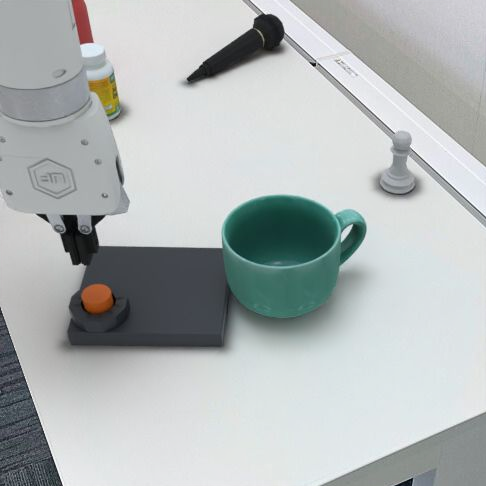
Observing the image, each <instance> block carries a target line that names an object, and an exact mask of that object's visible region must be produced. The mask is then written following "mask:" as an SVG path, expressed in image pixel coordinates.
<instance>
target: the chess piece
mask: <svg viewBox="0 0 486 486" xmlns="http://www.w3.org/2000/svg"><path fill="white" fill-rule="evenodd" d="M391 139H392V140H391V141H392V145H391V146H390V148H389V150H390V153H392V163H391V164H390V166H389V167H388V168H385V169H384V170H383V171H382V172H381V177H380V179H379V184H380V186H381V187H382V189H383V190H384V191H386V192H388V193H390V194H395V195H402V194H407V193H409V192H411V191H412V190H413V189H414V188H415V185H416V184H415V175H414V173H413V172H412V171H411V170H410V169H409V168H408V166H407V161H408V157H409V155H411V154H412V152H413V150H412V147H410V146H411V145H412V142H413V138H412V135H411V133H410V132H409V131H406V130H398V131H396V132H395V133H394V134H393V136H392V138H391Z"/></svg>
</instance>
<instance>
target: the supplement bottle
mask: <svg viewBox="0 0 486 486" xmlns="http://www.w3.org/2000/svg"><path fill="white" fill-rule="evenodd" d="M80 47H81V52H82V56H83V61H84V65H85V70H86V75H87V79H88V84H89V89H90V91H91V92H95V93H96V94H97V95H98V97H99V100H100V102H101V104H102V106H103V108H104V110H105V113H106V115H107V118H108V120H109V121H111V120H113V119H115V118H117V117H118V116H119V115H120V113H121V110H122V109H121V103H120V97H119V92H118V85H117V81H116V75H115V70H114V66H113V64H112V62H111V61H110V60H108V59H107V53H106V50H105V46H103V45H102V44H100V43H95V42H94V43H86V44H82V45H80Z"/></svg>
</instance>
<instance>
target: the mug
mask: <svg viewBox="0 0 486 486" xmlns="http://www.w3.org/2000/svg"><path fill="white" fill-rule="evenodd" d="M221 227H222V228H221V248H223V258H224V266H225V272H226V277H227V281H228V284H229V290H230V291H231V292H232V294H233V295H234V298H236V299H237V301H238V302H239V303H240V304H241V305H243V306H244V307H245V308H247V309H248V310H250V311H252V312H254V313H256V314H259V315H262V316H265V317H270V318H276V319H284V318H285V319H287V318H289V319H290V318H295V317H299V316H303V315H305V314H308V313H310V312H313V311H315V310H316V309H317V308H319V307H321V306H322V305H323V304H324V303H325V302H326V301H327V300H328V299H329V298H330V296H331V295H332V294H333V292H334V290H335V288H336V285H337V284H338V283H337V282H338V279H339V273H340V267H341V266H342V265H344V264H345V263H346V262H347V261H348V260H349V259H350V258H351V257H352V256H353V255H354V254H355V253H356V252H357V250H358V249H359V248H360V247H361V245H362V244H363V242H364V240H365V238H366V235H367V230H368V228H367V222H366V220H365V218H364V217H363V215H362V214H361V213H359V212H358V211H356V210H355V209H352V208H346V209H342V210H340V211H338V212H336V213H335V214H334V213H333V211H331V210H330V209H329V208H328V207H327V206H325V205H324V204H322V203H320V202H319V201H316V200H314V199H311V198H308V197H305V196H300V195H295V194H286V193H285V194H284V193H283V194H269V195H262V196H258V197H254V198H252V199H249V200H246V201H244V202H243V203H241V204H239V205H237V206H236V207H235V208H233V209H232V210H231V211H230V212H229V214H228V215H227V216H226V217H225V219H224V221H223V223H222V226H221ZM348 227H351V229H350V231H348V234H347V235H346V237H344V239H342V234H343V232H344V231H345V230H346V229H347V228H348Z"/></svg>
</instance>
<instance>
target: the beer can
mask: <svg viewBox="0 0 486 486" xmlns="http://www.w3.org/2000/svg"><path fill="white" fill-rule="evenodd" d="M71 2H72V7H73V12H74V17H75V22H76V27H77V32H78V37H79V42H80V45H82V44H86V43H95V40H94V36H93V31H92V26H91V22H90V16H89V12H88V11H89V10H88V6H87V4H86V1H85V0H71Z"/></svg>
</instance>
